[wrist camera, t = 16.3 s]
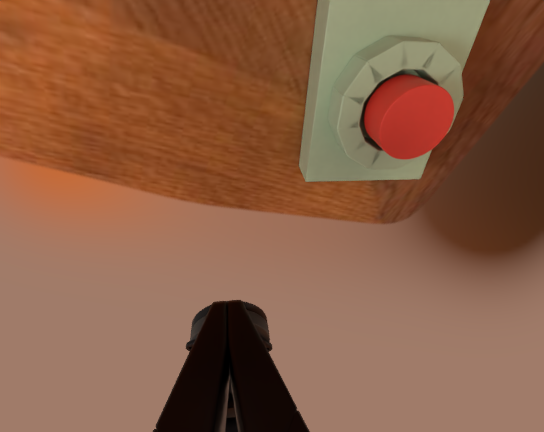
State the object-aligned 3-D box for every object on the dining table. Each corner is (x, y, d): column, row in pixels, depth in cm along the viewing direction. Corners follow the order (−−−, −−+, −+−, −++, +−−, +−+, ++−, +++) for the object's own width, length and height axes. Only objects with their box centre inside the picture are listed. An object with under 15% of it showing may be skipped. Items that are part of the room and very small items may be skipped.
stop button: (417, 143, 17) (437, 159, 16) (356, 143, 17) (371, 160, 15) (441, 74, 15) (467, 85, 13) (372, 73, 15) (391, 83, 13)
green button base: (404, 164, 22) (435, 193, 19) (298, 166, 21) (312, 197, 18) (463, -4, 16) (520, -2, 13) (318, -13, 15) (344, -14, 12)
